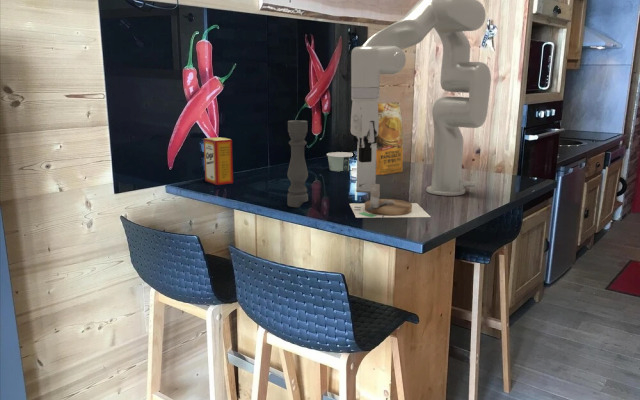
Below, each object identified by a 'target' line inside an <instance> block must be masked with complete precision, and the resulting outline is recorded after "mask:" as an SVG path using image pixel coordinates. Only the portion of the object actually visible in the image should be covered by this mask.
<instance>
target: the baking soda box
mask: <svg viewBox="0 0 640 400" xmlns="http://www.w3.org/2000/svg"><path fill="white" fill-rule="evenodd" d="M203 156H204V157H203V158H204V159H203V160H204V180H205V182H208V183H210V184H212V185H216V186H220V185H227V184H234V169H233V168H234V167H233V165H234V163H233V162H234V161H233V159H234V158H233V140H232V139H231V138H227V137H221V136H220V137H206V138H203Z"/></svg>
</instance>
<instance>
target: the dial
mask: <svg viewBox="0 0 640 400" xmlns="http://www.w3.org/2000/svg"><path fill="white" fill-rule="evenodd" d="M380 187H381V184H379V183H375V184H371V193H370V200H366V201H365V202H364V203H365V210H366V211H368V212H371V213H375V214H381V215H402V214H407V213H410V212H411V211H412V204H411V202H409V201H407V200H402V199H395V198H380V196H381V195H380V194H381V191H380V190H381V188H380Z"/></svg>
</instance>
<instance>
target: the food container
mask: <svg viewBox="0 0 640 400" xmlns="http://www.w3.org/2000/svg"><path fill="white" fill-rule="evenodd" d="M326 156H327V159H328V160H327V161H328V166H329V167H328V168H329V170H330V171H333V172H340V171H344V172H350V171H349V159H350V157H352V156H353V152H343V151H341V152H340V151H336V152H333V151H332V152H328V153H326Z"/></svg>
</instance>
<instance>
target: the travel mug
mask: <svg viewBox="0 0 640 400" xmlns="http://www.w3.org/2000/svg"><path fill="white" fill-rule="evenodd" d="M376 140H377V136H376V137H374V142H373V143H372V161H371V162H363V163H362V162H360V161H359V146H358V142H357V149H356V184H355V185H356V189H355V190H356V193H360V194H364V193H366V194H371V184H376V178H377V175H376V147H377V145H376V144H377V143H376V142H377V141H376Z"/></svg>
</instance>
